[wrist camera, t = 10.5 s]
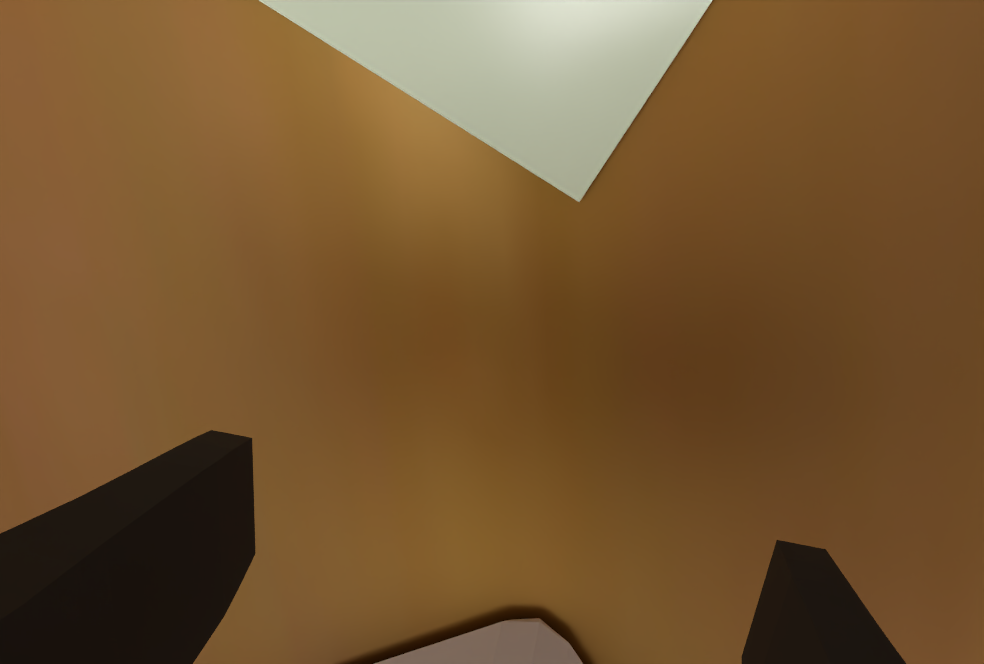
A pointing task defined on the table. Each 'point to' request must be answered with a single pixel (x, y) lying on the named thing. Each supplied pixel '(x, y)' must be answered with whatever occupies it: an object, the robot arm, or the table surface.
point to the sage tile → (516, 67)
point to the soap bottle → (497, 646)
